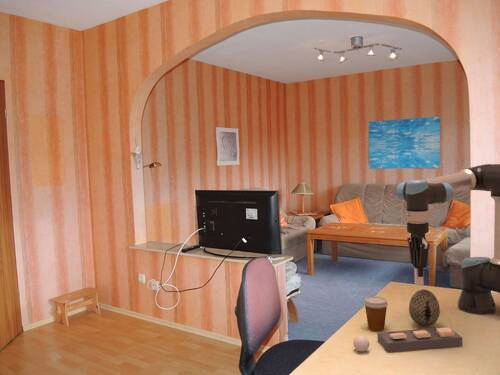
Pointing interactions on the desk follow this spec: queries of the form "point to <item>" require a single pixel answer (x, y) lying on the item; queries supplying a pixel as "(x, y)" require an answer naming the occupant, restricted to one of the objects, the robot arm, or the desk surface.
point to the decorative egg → (424, 308)
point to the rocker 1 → (398, 335)
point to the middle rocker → (421, 334)
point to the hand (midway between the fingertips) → (419, 284)
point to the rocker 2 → (445, 332)
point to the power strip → (417, 341)
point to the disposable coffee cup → (376, 312)
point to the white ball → (361, 343)
